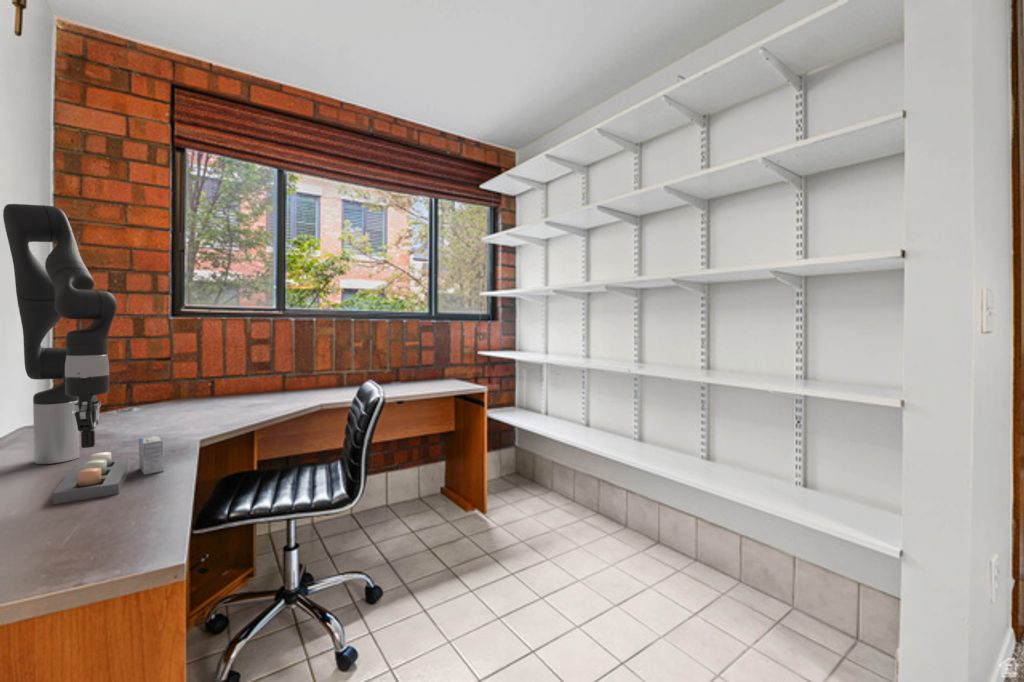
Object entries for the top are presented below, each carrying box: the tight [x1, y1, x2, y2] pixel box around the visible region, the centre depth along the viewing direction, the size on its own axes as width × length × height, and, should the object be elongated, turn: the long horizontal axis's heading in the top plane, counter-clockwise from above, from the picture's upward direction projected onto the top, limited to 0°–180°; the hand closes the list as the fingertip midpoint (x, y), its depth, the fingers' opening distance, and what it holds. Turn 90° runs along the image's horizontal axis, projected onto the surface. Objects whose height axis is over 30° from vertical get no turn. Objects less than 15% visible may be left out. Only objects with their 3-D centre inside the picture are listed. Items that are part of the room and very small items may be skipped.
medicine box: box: [138, 435, 165, 475], centre depth 122 cm, size 8×4×9 cm, turn 47°
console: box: [52, 458, 131, 505], centre depth 111 cm, size 24×11×2 cm, turn 36°
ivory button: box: [90, 451, 112, 466], centre depth 117 cm, size 4×4×3 cm
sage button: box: [84, 459, 107, 474], centre depth 111 cm, size 4×4×3 cm
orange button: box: [78, 468, 101, 486], centre depth 104 cm, size 4×4×3 cm
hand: (88, 446), depth 104 cm, fingers closed
